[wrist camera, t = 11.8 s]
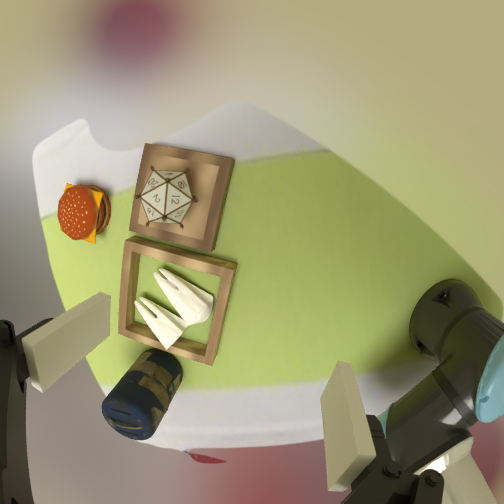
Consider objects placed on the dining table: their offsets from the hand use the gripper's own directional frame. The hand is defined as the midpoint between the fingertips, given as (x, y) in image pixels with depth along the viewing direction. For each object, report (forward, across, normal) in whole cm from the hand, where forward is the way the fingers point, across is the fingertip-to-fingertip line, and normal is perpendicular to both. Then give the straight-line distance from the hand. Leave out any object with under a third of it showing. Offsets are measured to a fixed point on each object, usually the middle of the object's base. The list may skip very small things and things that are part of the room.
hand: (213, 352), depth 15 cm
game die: (+27, +14, -5) cm, 31 cm away
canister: (+31, +14, +28) cm, 44 cm away
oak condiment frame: (+30, +12, +12) cm, 35 cm away
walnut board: (+30, +14, -5) cm, 33 cm away
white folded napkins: (+30, +12, +12) cm, 35 cm away
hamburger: (+30, +31, +1) cm, 43 cm away
